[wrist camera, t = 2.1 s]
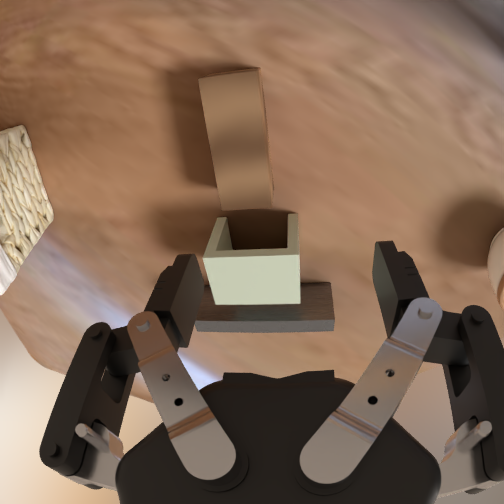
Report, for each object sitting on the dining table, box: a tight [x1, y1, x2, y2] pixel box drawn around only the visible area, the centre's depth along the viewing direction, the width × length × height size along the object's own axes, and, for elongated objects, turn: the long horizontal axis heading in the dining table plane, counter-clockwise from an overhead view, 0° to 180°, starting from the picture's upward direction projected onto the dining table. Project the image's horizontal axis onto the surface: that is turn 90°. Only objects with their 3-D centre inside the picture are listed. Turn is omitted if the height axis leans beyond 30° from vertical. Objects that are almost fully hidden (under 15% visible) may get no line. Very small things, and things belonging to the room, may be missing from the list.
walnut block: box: [198, 68, 274, 211], centre depth 26 cm, size 12×4×4 cm, turn 7°
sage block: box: [203, 213, 300, 305], centre depth 32 cm, size 6×8×7 cm
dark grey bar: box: [195, 283, 335, 333], centre depth 38 cm, size 5×16×6 cm, turn 97°
